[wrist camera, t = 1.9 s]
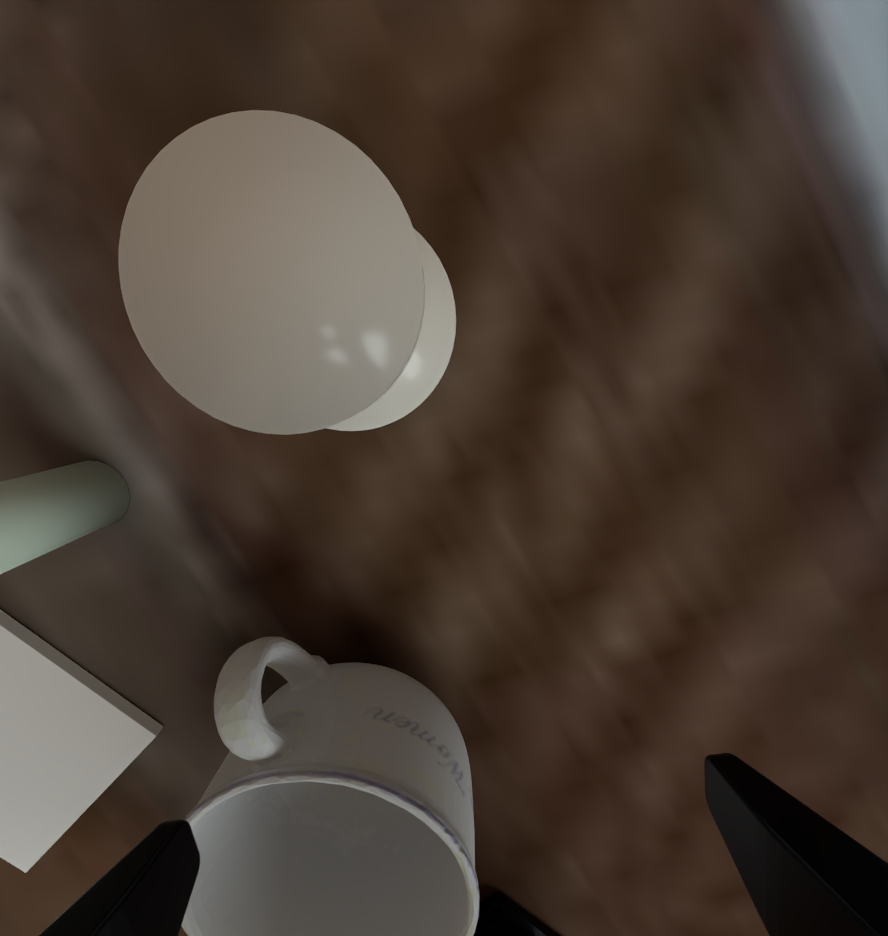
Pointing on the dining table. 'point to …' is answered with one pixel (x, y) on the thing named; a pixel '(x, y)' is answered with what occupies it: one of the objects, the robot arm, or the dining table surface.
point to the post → (57, 509)
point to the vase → (283, 279)
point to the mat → (56, 742)
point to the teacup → (333, 805)
